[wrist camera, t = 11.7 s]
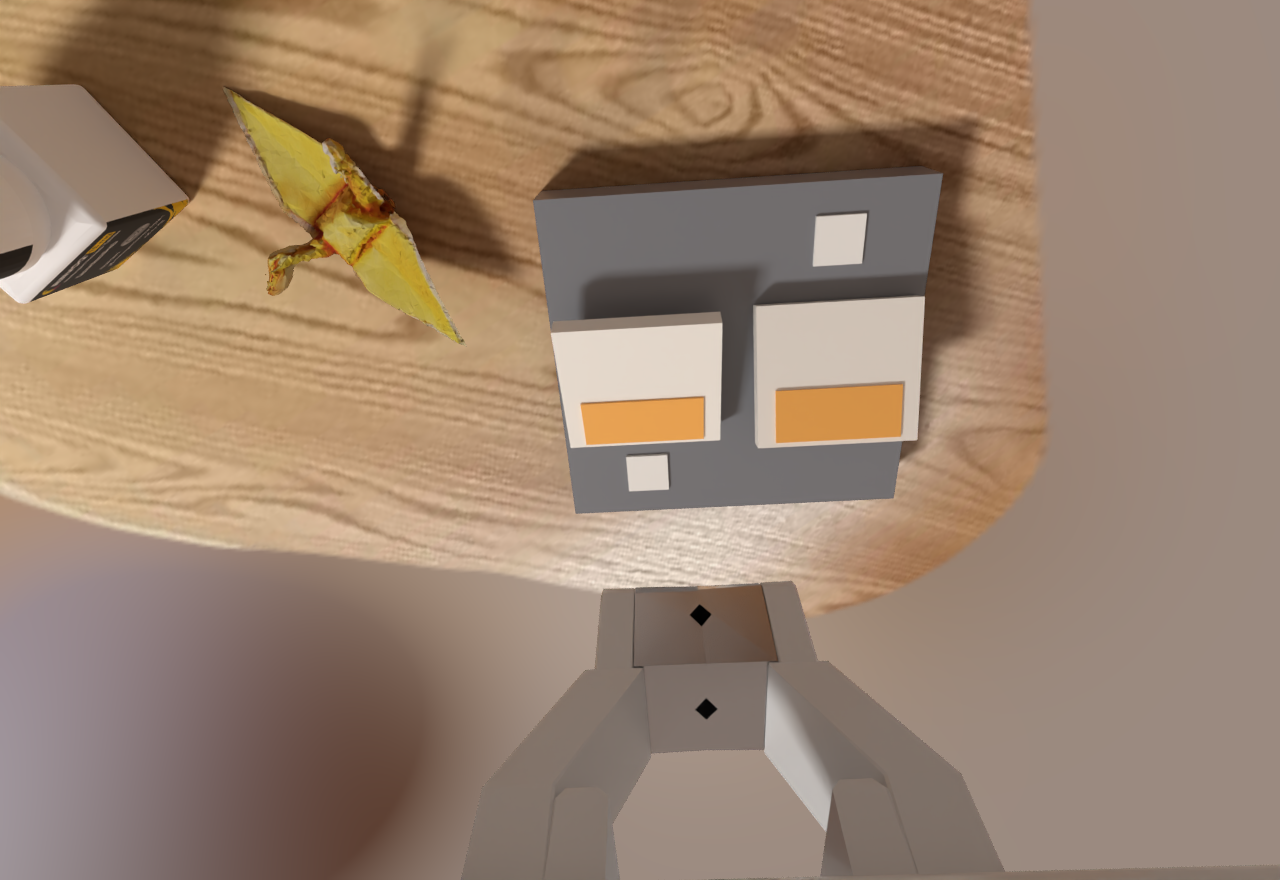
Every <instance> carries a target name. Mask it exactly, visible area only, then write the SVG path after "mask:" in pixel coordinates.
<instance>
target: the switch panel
mask: <svg viewBox="0 0 1280 880" xmlns="http://www.w3.org/2000/svg"><path fill="white" fill-rule="evenodd" d="M942 177H943V173H940V172H938V171H935V170H932V169H929V168H926V167H923V166H911V167H896V168H880V169H865V170H850V171H835V172H820V173H805V174H790V175H775V176H760V177H744V178H729V179H714V180H699V181H684V182H669V183H654V184H639V185H624V186H608V187H593V188H578V189H563V190H548V191H541V192H540V193H539V194H538V195H537V196H536V197H535V199H534V200H533V203H534V211H535V218H536V225H537V233H538V240H539V247H540V255H541V262H542V269H543V277H544V284H545V291H546V299H547V306H548V313H549V321H550V328H551V329H552V324H553V321H569V320H586V319H603V318H620V317H637V316H654V315H671V314H688V313H705V312H720V313H721V318H722V373H721V423H720V440H715V441H696V442H677V443H657V444H638V445H619V446H600V447H580V448H571V447H570V441H569V435H568V429H567V424H566V418H565V412H564V406H563V401H562V395H561V389H560V383H559V377H558V372H557V366H556V372H557V380H558V387H559V394H560V402H561V409H562V416H563V424H564V431H565V438H566V446H567V453H568V460H569V468H570V475H571V482H572V490H573V497H574V504H575V512H576V514H578V513H599V512H620V511H641V510H661V509H682V508H703V507H724V506H744V505H765V504H786V503H807V502H828V501H848V500H869V499H890V498H894V492H895V485H896V479H897V472H898V466H899V459H900V452H901V446H902V441H894V442H874V443H855V444H835V445H815V446H796V447H776V448H758V447H757V445H756V444H755V404H754V335H753V305H761V304H778V303H795V302H812V301H829V300H846V299H863V298H880V297H897V296H913V295H918V296H924V295H925V288H926V282H927V275H928V269H929V262H930V255H931V249H932V242H933V236H934V229H935V223H936V216H937V210H938V203H939V196H940V190H941V183H942ZM553 350H554V349H553ZM554 357H555V354H554ZM555 365H556V360H555Z"/></svg>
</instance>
